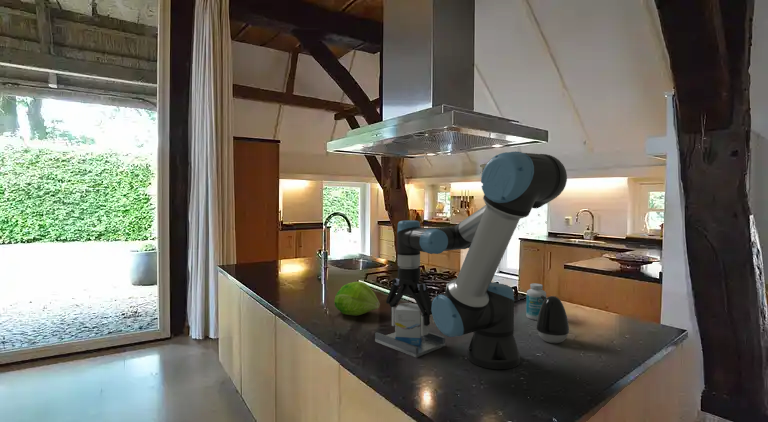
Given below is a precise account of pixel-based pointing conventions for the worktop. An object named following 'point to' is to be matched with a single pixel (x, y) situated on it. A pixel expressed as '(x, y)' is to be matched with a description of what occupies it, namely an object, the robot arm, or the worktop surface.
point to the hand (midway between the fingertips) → (409, 329)
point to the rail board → (427, 345)
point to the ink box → (408, 323)
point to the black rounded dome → (552, 320)
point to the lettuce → (356, 299)
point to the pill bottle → (534, 300)
